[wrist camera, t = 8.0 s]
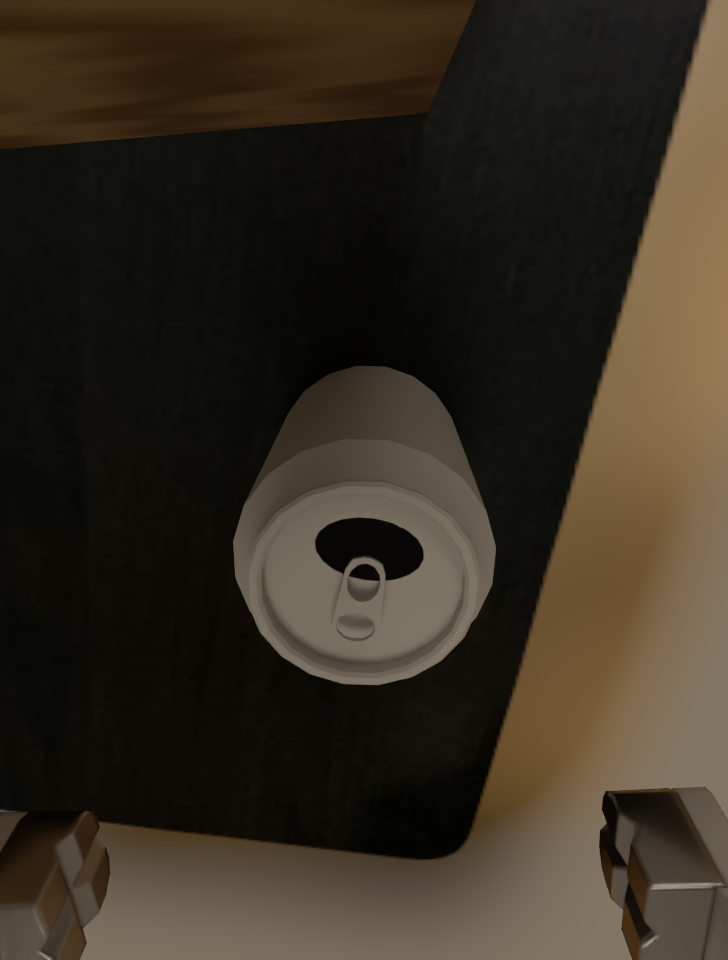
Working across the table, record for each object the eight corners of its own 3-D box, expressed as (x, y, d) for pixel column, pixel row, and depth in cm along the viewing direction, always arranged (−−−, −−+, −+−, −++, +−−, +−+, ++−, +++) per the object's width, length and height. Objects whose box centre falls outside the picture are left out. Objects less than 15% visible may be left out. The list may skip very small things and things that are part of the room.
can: (474, 378, 27) (541, 489, 16) (435, 537, 29) (469, 728, 18) (295, 345, 26) (233, 435, 15) (272, 510, 29) (207, 687, 18)
